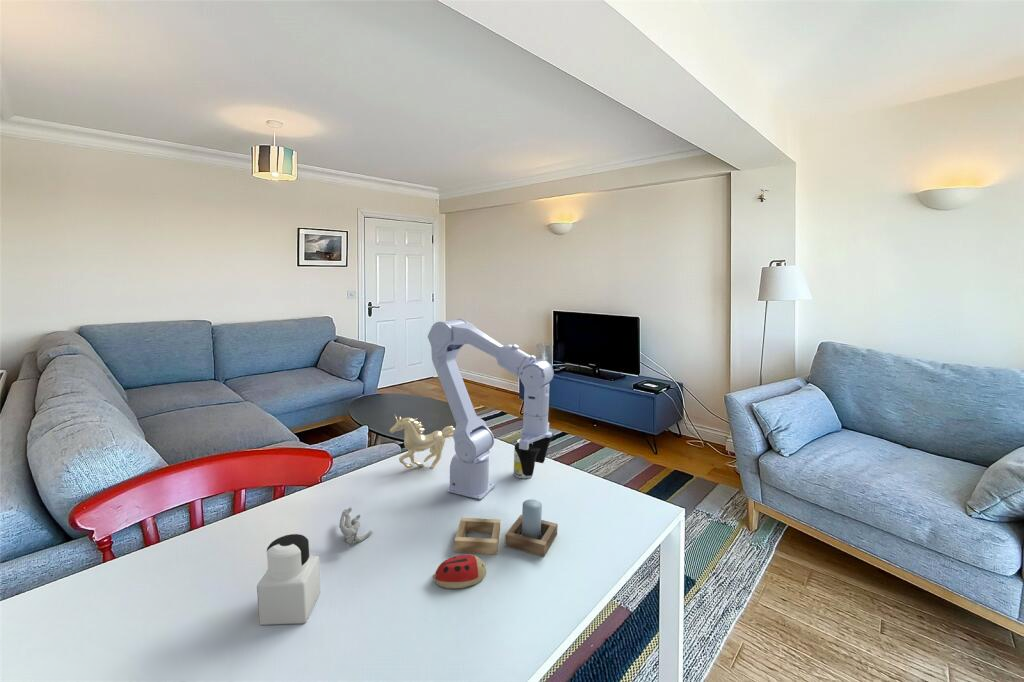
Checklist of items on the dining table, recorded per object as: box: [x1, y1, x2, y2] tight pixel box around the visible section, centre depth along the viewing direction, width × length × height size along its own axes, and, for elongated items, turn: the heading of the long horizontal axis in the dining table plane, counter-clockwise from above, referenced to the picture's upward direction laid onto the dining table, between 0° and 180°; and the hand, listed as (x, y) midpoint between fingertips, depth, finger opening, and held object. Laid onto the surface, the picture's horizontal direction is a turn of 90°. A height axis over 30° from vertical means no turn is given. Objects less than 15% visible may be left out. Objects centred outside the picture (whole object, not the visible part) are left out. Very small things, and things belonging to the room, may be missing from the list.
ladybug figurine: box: [432, 554, 487, 589], centre depth 83 cm, size 7×10×4 cm
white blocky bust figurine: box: [256, 533, 321, 626], centre depth 74 cm, size 7×7×12 cm
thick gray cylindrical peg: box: [521, 499, 543, 540], centre depth 95 cm, size 4×4×8 cm
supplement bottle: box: [513, 438, 534, 479], centre depth 125 cm, size 5×5×10 cm
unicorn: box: [389, 413, 455, 469], centre depth 128 cm, size 20×4×17 cm, turn 121°
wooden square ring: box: [504, 514, 558, 558], centre depth 95 cm, size 8×8×2 cm
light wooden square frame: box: [453, 517, 501, 555], centre depth 95 cm, size 8×8×2 cm
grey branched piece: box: [338, 507, 373, 548], centre depth 95 cm, size 8×5×12 cm
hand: (533, 468), depth 107 cm, fingers open, 7 cm apart
